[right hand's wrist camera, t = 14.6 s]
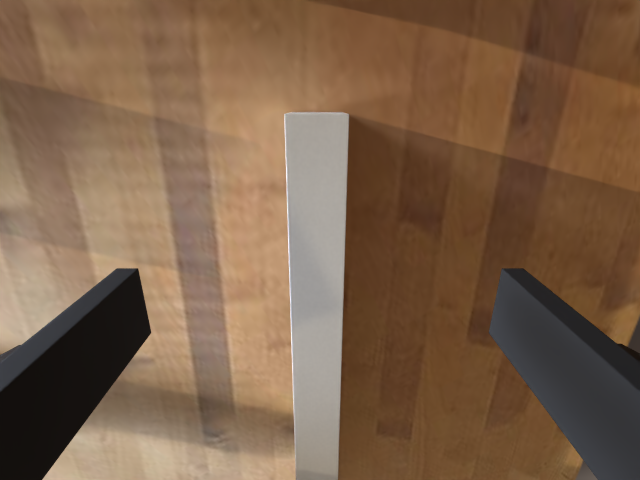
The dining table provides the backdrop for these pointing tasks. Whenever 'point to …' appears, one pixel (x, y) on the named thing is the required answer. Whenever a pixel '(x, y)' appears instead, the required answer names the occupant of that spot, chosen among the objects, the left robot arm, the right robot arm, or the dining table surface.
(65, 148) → the dining table surface
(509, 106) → the dining table surface
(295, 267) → the bar
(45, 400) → the right robot arm
